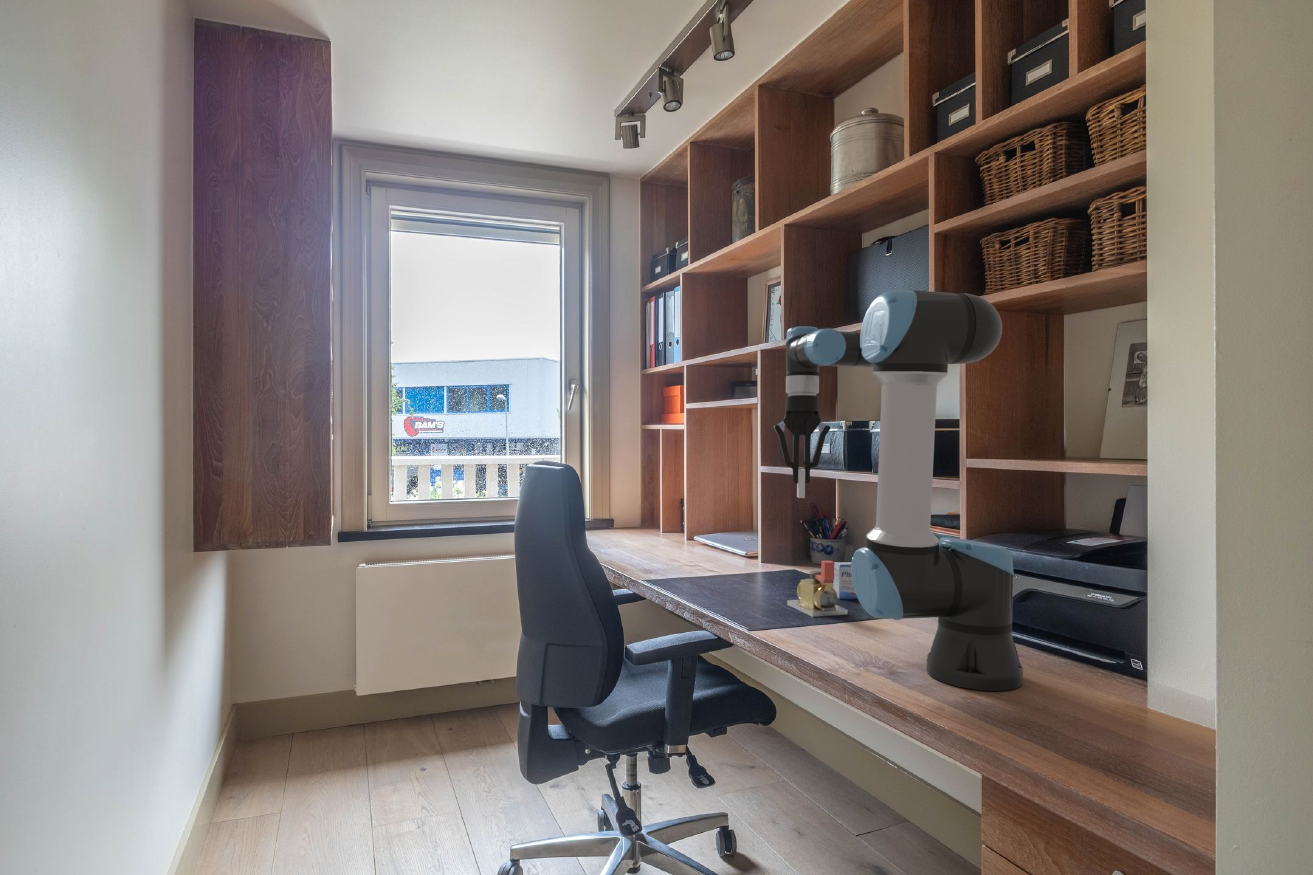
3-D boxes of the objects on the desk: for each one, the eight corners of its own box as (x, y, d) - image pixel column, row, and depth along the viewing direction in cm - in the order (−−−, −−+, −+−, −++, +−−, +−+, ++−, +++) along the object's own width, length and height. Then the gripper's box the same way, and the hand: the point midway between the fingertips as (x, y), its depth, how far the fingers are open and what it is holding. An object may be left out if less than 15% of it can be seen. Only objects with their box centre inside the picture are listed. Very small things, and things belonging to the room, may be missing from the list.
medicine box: (838, 599, 182) (839, 564, 182) (832, 595, 186) (833, 561, 186) (869, 599, 183) (870, 564, 182) (862, 595, 187) (863, 561, 187)
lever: (821, 576, 173) (821, 554, 173) (836, 585, 163) (836, 562, 163) (808, 576, 173) (808, 555, 173) (822, 585, 163) (822, 562, 163)
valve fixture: (847, 614, 167) (847, 583, 167) (812, 616, 164) (812, 585, 164) (820, 602, 178) (820, 573, 178) (787, 604, 176) (787, 575, 176)
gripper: (828, 396, 171) (827, 496, 172) (772, 395, 173) (771, 495, 173) (833, 394, 164) (832, 499, 164) (774, 394, 165) (773, 498, 165)
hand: (800, 497), depth 169 cm, fingers closed
